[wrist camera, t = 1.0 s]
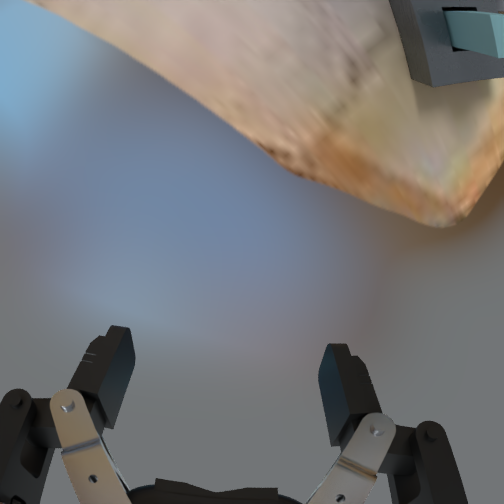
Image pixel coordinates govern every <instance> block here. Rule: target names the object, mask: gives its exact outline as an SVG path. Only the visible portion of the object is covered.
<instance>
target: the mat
mask: <svg viewBox="0 0 504 504" xmlns="http://www.w3.org/2000/svg"><path fill="white" fill-rule="evenodd" d="M495 2H496V6H497V10H498V11H503V12H504V0H495Z"/></svg>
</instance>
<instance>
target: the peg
mask: <svg viewBox="0 0 504 504" xmlns="http://www.w3.org/2000/svg"><path fill="white" fill-rule="evenodd" d="M442 11H443V14H444V18H445V21H446V25H447V29H448V33H449V37H450V41H451V46H452V47H457V48H461V49H466V50H470V51H474V52H478V53H482V54H486V55H489V56H493V57H496V58H504V14H497V13H488V12H478V11H463V10H442Z"/></svg>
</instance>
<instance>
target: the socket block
mask: <svg viewBox="0 0 504 504" xmlns="http://www.w3.org/2000/svg"><path fill="white" fill-rule="evenodd" d="M389 2H390V5H391V7H392V10H393V13H394V16H395V20H396V23H397V26H398V29H399V33H400V36H401V40H402V43H403V47H404V51H405V54H406V58H407V62H408V66H409V71H410V75H411V79H413V80H416V81H418V82H421V83H423V84H426V85H428V86H431V87H438V86H444V85H450V84H456V83H462V82H469V81H477V80H484V79H493V78H502V77H504V58H496V57H493V56H489V55H486V54H482V53H478V52H474V51H470V50H466V49H461V48H457V47H452V46H451V41H450V37H449V33H448V29H447V25H446V21H445V18H444V14H443V11H442V7H452V10H463V11H478V12H488V13H497V14H498V10H497V6H496V2H495V0H389Z"/></svg>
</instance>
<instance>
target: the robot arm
mask: <svg viewBox="0 0 504 504" xmlns="http://www.w3.org/2000/svg"><path fill="white" fill-rule="evenodd" d="M134 366H135V351H134V347H133V341H132V336H131V331H130V329H129V328H127V327H121V326H114V325H112V326H111V327H110V328H109V330H108V332H107V334H106V336H98V337H97V338H96V339H95V340H93V341H92V342H91V343H90V345H89V347H88V349H87V350H86V354H84V356H83V358H82V361H81V362H80V364H79V366H78V368H77V370H76V372H75V373H74V375H73V377H72V379H71V382H70V383H69V385H68V387H67V389H64V390H60V391H58V392H57V393H56V394H54V395H53V397H52V398H43V399H42V398H31V396H30V394H29V393H28V392H27V391H25V390H23V389H14V390H11V391H9V392H8V393H7V394H6V395H5V396H4V397H3V399H2V401H1V403H0V504H40V499H41V496H42V492H43V488H44V484H45V481H46V477H47V474H48V470H49V466H50V463H51V460H52V457H53V453H54V450H55V448H62V449H63V451H62V452H61V456H62V459H63V462H64V465H65V468H66V470H67V473H68V475H69V478H70V480H71V483H72V485H73V488H74V490H75V493H76V495H77V497H78V499H79V502H80V504H302V503H300V502H298V501H297V500H294V499H292V498H290V497H287V496H284V495H279V494H278V490H277V489H278V488H243V489H237V490H231V491H224V492H212V491H209V490H205V489H202V488H199V487H196V486H193V485H190V484H188V483H183V482H177V481H169V480H164V479H158V478H156V481H155V485H146V486H141V487H137V488H135V489H132V490H130V489H129V487H128V485H127V483H126V481H125V480H124V478H123V476H122V475H121V473H120V471H119V469H118V467H117V465H116V463H115V461H114V459H113V457H112V456H111V453H110V451H109V449H108V447H107V445H106V443H105V441H104V438H103V437H102V433H103V430H104V427H105V428H110V429H113V428H114V425H115V422H116V419H117V416H118V413H119V410H120V407H121V404H122V401H123V398H124V395H125V392H126V389H127V386H128V384H129V381H130V378H131V375H132V372H133V369H134ZM318 381H319V387H320V391H321V396H322V402H323V407H324V412H325V417H326V422H327V427H328V432H329V437H330V443H331V447H332V446H340V448H341V453H340V455H339V456H338V458H337V460H336V461H335V463H334V464H333V465H332V467H331V468H330V470H329V471H328V473H327V474H326V476H325V477H324V479H323V480H322V482H321V483H320V484H319V486H318V487H317V488H316V490H315V491H314V492H313V494H312V495H311V497H310V498H309V499H308V500H307V502H306V503H305V504H364V502H365V500H366V498H367V497H368V494H369V493H370V491H371V489H372V487H373V486H374V484H375V482H376V479H377V476H376V474H377V472H378V473H386V474H387V476H388V482H389V487H390V492H391V498H392V504H468V501H467V498H466V494H465V491H464V487H463V484H462V480H461V477H460V474H459V471H458V467H457V465H456V461H455V458H454V455H453V452H452V449H451V446H450V444H449V441H448V438H447V435H446V432H445V430H444V429H443V427H442V426H441V425H440V424H438V423H436V422H433V421H424V422H422V423H420V424H419V425H418V426H417V428H412V427H405V426H399V425H396V424H394V422H393V420H392V419H391V418H390V417H388V416H387V415H385V414H383V413H382V410H381V407H380V405H379V402H378V399H377V396H376V393H375V390H374V387H373V384H371V383H372V382H371V379H370V376H369V373H368V370H367V368H366V365H365V364H364V362H363V361H362V360H361V359H360V358H359V357H358V356H351V354H350V351H349V348H348V346H347V344H328V345H327V347H326V350H325V353H324V356H323V359H322V362H321V365H320V368H319V374H318Z"/></svg>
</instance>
